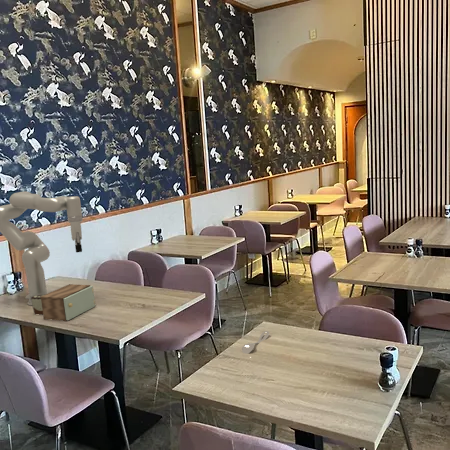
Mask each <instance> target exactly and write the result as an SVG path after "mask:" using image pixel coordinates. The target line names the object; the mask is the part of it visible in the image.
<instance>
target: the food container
mask: <svg viewBox="0 0 450 450" xmlns="http://www.w3.org/2000/svg"><path fill="white" fill-rule="evenodd" d="M43 295H46V294H36V295H32V296H31V297H30V300H31V301H32V305H31V306H32V309H33V314H34V315H36V314H39V315H38V316H43V309H42V303H41V296H43Z"/></svg>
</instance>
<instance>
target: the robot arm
mask: <svg viewBox="0 0 450 450" xmlns="http://www.w3.org/2000/svg"><path fill="white" fill-rule="evenodd" d="M28 209H29V210H36V211H39V212H45V213H46V212H47V213H58V212H61V211H66V213H67V214H66V215H67V222H68V224H70V233H71V234H70V235H71V240H72V241H74V245H75V247H74V248H75V253H82V252H83V247H82V241H81V240H82V239H83V235H82V225H81V223H82V222H83V221H84V220H83V214H82V213H83V212H82V205H81V199H80V196H76V195H74V196H72V195H71V196H66V195H65V196H63V195H61V196H58V197H57V196H56V197H52V198H50V197H42V196H41V195H40V194H39V193H31V192H30V191H20V192H19V191H17V192H14V193H12V194H11V195H10V197H9V204H4V205H0V233H1V234H2V236H3V237H4V238H5V239H6V240H7V242H9V243H10V245H11V246H12V247H13V248H14V249H15V250H16V251H19V252H20V251H24V252H23V253H22V255H21V261H22V264H23V267H24V270H25V276H26V282H27V287H28V293H27V295H26V296H25V299H27V300H28V301H27V305H29V306H32V301H31V300H30V297H31V296H32V295H36V294H48V291H47V285H46V276H45V271H44V268H43V265H42V264H41V263H42V262H45V261H46V260H49V257H50V255H51V254H50V253H51V252H50V249H49V248H48V246H47V245H46V244H45V243H44V241H42V239H41V238H40V237H39V236H38V235H37V234H36V233H35V232H33V231H31V230H30V231H28V230H27V231H24V232H22V230H21V229H19V228H18V226H17V225H16V224H14V223H13V222H11V221H10V220H13V219H16V218H19V217H21V215H23V214H24V212H26V211H27V210H28Z"/></svg>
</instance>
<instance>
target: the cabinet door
mask: <svg viewBox="0 0 450 450" xmlns="http://www.w3.org/2000/svg"><path fill="white" fill-rule="evenodd" d="M95 299H96V298H95V291H94V285H90V287H88V288H85V289H83V290H81V291H79V292H77V293H75V294H73V295H70V296H68V297H66V298H64V299H63V300H64V307H65V314H66V320H67V321H70V320H72V319H73V318H76V317H77V316H80V315H82V314H83V313H85V312H86V311H89V310H91V309H93V308H95V307H96V300H95Z"/></svg>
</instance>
